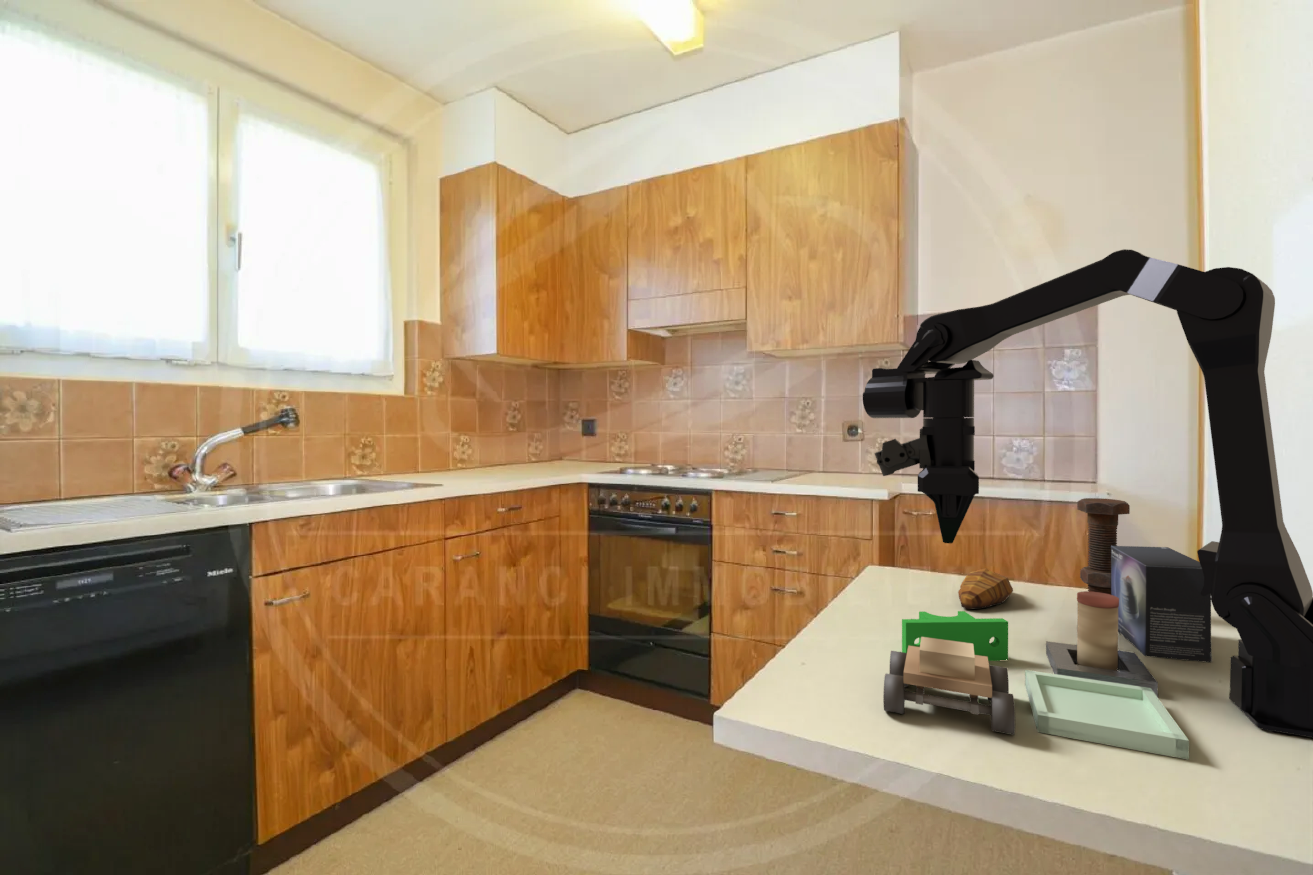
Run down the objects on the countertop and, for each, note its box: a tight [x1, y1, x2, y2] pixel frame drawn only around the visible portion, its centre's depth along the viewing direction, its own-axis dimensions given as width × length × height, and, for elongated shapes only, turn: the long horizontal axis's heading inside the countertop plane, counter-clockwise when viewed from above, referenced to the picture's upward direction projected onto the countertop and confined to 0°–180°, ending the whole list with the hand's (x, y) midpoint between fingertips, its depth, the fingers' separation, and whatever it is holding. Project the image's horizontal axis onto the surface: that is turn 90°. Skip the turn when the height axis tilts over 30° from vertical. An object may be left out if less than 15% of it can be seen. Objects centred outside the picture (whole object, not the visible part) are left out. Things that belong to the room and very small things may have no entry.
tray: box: [1024, 669, 1190, 760], centre depth 54 cm, size 10×10×2 cm
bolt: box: [1076, 497, 1131, 595], centre depth 83 cm, size 6×5×15 cm
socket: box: [1045, 641, 1159, 697], centre depth 63 cm, size 8×8×1 cm
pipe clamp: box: [901, 610, 1009, 662], centre depth 68 cm, size 11×4×5 cm, turn 89°
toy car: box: [882, 637, 1016, 736], centre depth 56 cm, size 10×9×6 cm
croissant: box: [957, 567, 1014, 610], centre depth 87 cm, size 14×7×5 cm, turn 131°
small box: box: [1111, 545, 1213, 663], centre depth 71 cm, size 11×6×10 cm, turn 161°
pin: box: [1076, 590, 1119, 671], centre depth 63 cm, size 4×4×8 cm
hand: (947, 542), depth 76 cm, fingers closed
